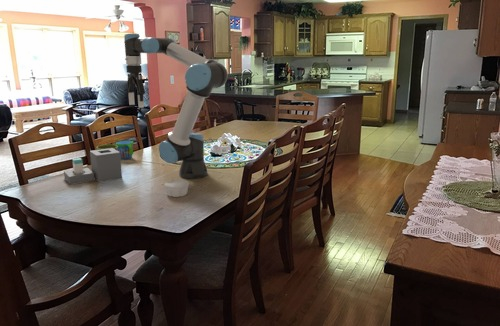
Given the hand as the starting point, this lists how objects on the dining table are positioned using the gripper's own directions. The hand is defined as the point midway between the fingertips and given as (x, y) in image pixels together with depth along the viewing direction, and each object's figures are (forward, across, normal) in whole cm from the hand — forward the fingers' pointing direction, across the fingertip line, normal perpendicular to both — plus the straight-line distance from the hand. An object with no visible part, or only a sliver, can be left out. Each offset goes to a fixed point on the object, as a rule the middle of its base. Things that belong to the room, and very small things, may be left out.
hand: (136, 106), depth 214 cm
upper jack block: (+37, -2, -18) cm, 41 cm away
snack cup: (+37, -36, +4) cm, 52 cm away
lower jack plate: (+37, -6, -31) cm, 48 cm away
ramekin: (+37, +43, +1) cm, 57 cm away
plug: (+37, -6, -31) cm, 48 cm away
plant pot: (+37, -25, -10) cm, 46 cm away
